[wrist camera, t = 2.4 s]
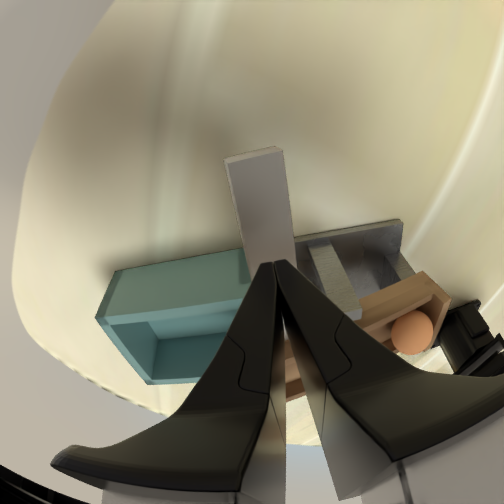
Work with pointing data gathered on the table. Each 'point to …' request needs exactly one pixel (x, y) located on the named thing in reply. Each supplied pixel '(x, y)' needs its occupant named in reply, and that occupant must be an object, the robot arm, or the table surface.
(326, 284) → the stand
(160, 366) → the bin
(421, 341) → the ball
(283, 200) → the lever
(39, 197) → the table surface
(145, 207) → the table surface
